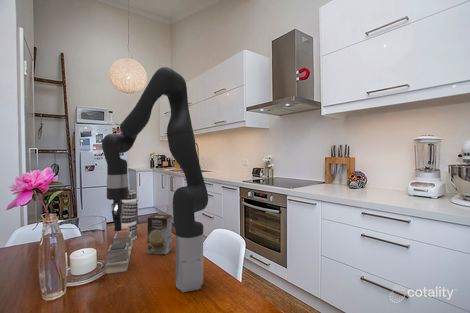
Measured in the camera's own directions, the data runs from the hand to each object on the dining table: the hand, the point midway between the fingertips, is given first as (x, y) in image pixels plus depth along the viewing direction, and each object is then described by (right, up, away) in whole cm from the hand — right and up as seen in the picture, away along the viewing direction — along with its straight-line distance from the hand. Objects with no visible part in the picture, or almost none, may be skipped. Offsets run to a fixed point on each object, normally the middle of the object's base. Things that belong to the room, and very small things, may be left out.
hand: (118, 230), depth 90 cm
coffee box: (+11, -14, +14) cm, 23 cm away
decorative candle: (-10, -14, +30) cm, 34 cm away
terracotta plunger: (-5, -7, +14) cm, 16 cm away
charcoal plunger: (0, -11, 0) cm, 11 cm away
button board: (-2, -14, +7) cm, 16 cm away
